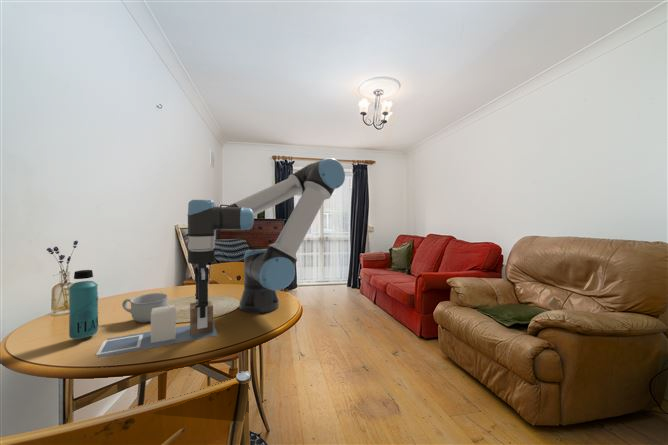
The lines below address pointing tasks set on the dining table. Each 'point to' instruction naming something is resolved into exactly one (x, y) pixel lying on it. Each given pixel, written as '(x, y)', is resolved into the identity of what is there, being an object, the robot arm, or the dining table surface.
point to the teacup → (145, 305)
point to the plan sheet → (146, 341)
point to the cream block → (163, 323)
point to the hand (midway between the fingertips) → (201, 323)
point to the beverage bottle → (83, 306)
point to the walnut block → (194, 319)
